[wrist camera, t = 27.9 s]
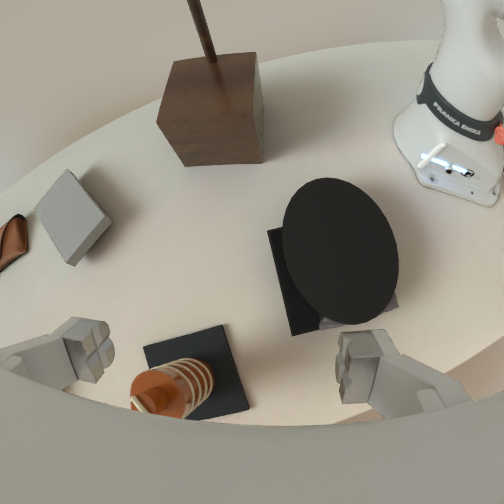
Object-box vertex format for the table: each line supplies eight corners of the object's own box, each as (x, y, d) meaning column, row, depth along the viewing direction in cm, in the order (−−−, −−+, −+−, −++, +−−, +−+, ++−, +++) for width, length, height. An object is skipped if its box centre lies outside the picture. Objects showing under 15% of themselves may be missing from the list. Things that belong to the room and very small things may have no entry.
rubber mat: (222, 324, 39) (221, 324, 38) (249, 408, 36) (249, 409, 35) (144, 346, 39) (142, 346, 39) (169, 424, 36) (168, 425, 36)
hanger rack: (262, 163, 43) (208, -86, 8) (184, 166, 45) (57, -31, 10) (263, 103, 46) (228, -101, 11) (194, 108, 47) (113, -70, 12)
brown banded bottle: (225, 382, 36) (187, 417, 21) (192, 409, 36) (141, 451, 21) (194, 346, 38) (139, 360, 23) (162, 374, 37) (98, 397, 22)
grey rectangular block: (116, 224, 44) (77, 177, 48) (104, 216, 40) (67, 168, 44) (79, 268, 43) (45, 215, 46) (65, 262, 39) (34, 208, 43)
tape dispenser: (359, 192, 42) (368, 165, 34) (398, 311, 36) (418, 305, 29) (264, 215, 43) (256, 191, 36) (294, 341, 37) (292, 342, 30)
